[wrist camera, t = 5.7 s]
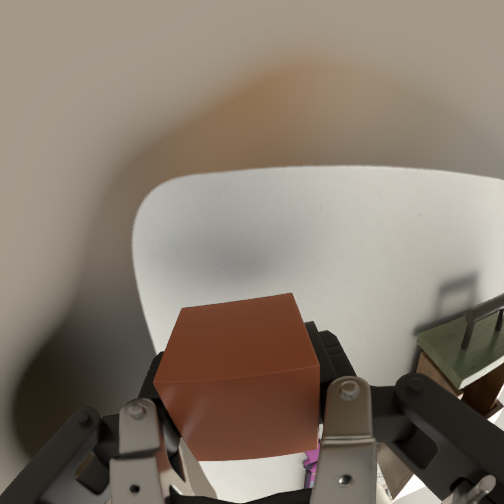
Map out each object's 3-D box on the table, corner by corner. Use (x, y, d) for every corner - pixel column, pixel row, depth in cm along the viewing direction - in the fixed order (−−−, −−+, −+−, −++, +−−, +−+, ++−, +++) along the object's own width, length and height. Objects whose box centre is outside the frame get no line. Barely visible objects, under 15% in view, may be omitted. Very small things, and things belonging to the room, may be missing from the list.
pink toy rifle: (305, 448, 26) (344, 438, 26) (303, 442, 27) (342, 433, 27) (300, 499, 32) (327, 493, 32) (299, 495, 32) (326, 489, 33)
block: (181, 307, 11) (152, 382, 6) (292, 292, 11) (320, 364, 6) (206, 386, 12) (196, 461, 8) (299, 374, 12) (318, 449, 8)
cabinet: (393, 398, 26) (426, 455, 17) (467, 365, 26) (504, 406, 17) (374, 454, 30) (392, 500, 21) (439, 427, 30) (462, 464, 21)
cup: (398, 464, 32) (411, 494, 25) (385, 481, 35) (396, 508, 27) (344, 480, 32) (355, 515, 24) (336, 495, 34) (344, 525, 27)
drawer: (424, 295, 21) (477, 338, 13) (494, 272, 21) (542, 299, 13) (395, 417, 26) (419, 461, 18) (460, 387, 26) (488, 421, 18)
